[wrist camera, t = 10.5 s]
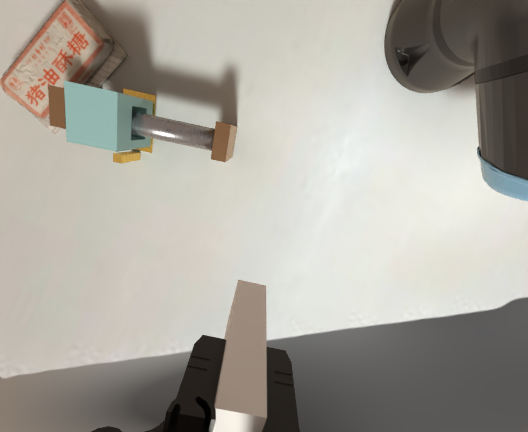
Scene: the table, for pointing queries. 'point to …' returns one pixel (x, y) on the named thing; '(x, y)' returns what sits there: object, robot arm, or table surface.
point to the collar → (103, 117)
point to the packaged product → (62, 59)
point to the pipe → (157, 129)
